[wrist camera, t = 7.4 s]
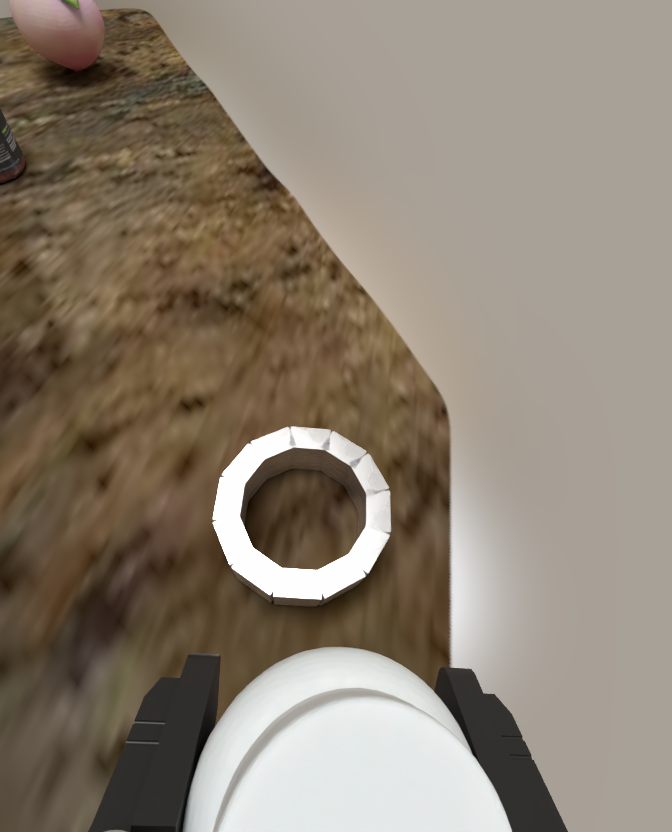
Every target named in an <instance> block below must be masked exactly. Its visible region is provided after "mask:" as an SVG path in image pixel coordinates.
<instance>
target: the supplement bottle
mask: <svg viewBox="0 0 672 832" xmlns="http://www.w3.org/2000/svg"><path fill="white" fill-rule="evenodd" d="M24 167H25V158H24V156H23V154H22V151H21V149H20V147H19V145H18V143H17V141H16V139H15V137H14V135H13V133H12V131H11V129H10V127H9V125H8V123H7V121H6V119H5V117H4V115H3V113H2V111H1V109H0V183H2V182H6V181H8V180H11V179H13V178H16V177H17V176H18V175H19V174H20V173H21V172H22V171H23V169H24Z"/></svg>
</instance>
